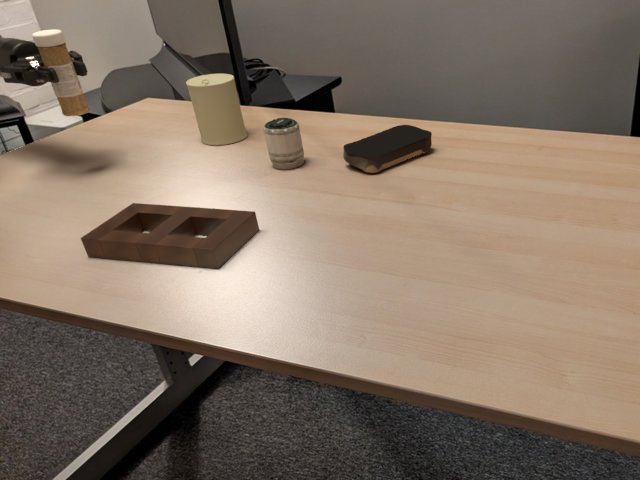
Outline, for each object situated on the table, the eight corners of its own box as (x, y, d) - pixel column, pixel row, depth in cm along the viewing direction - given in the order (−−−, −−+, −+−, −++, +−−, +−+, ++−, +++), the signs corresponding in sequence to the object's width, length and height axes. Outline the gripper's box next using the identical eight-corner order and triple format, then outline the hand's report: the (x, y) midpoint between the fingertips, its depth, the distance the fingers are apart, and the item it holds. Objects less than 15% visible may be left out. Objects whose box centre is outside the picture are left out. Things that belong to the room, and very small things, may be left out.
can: (194, 146, 130) (177, 84, 123) (210, 131, 138) (194, 71, 131) (240, 144, 130) (225, 82, 123) (252, 129, 137) (239, 70, 130)
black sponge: (406, 141, 127) (404, 122, 125) (436, 151, 122) (435, 131, 120) (340, 166, 118) (337, 146, 116) (370, 177, 113) (367, 157, 111)
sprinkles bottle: (66, 110, 117) (35, 29, 109) (93, 108, 118) (64, 27, 110) (60, 118, 114) (27, 35, 106) (87, 115, 114) (57, 33, 106)
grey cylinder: (264, 168, 119) (255, 125, 114) (282, 156, 123) (273, 114, 119) (295, 171, 117) (286, 127, 112) (311, 159, 122) (304, 116, 117)
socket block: (88, 257, 93) (80, 238, 92) (139, 220, 103) (132, 202, 101) (218, 269, 89) (213, 249, 87) (259, 229, 98) (255, 211, 96)
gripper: (-31, 47, 112) (18, 58, 103) (50, 31, 121) (101, 40, 113) (-12, 92, 116) (37, 106, 108) (65, 73, 125) (115, 85, 117)
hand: (69, 72), depth 110 cm, fingers closed on sprinkles bottle, 4 cm apart
